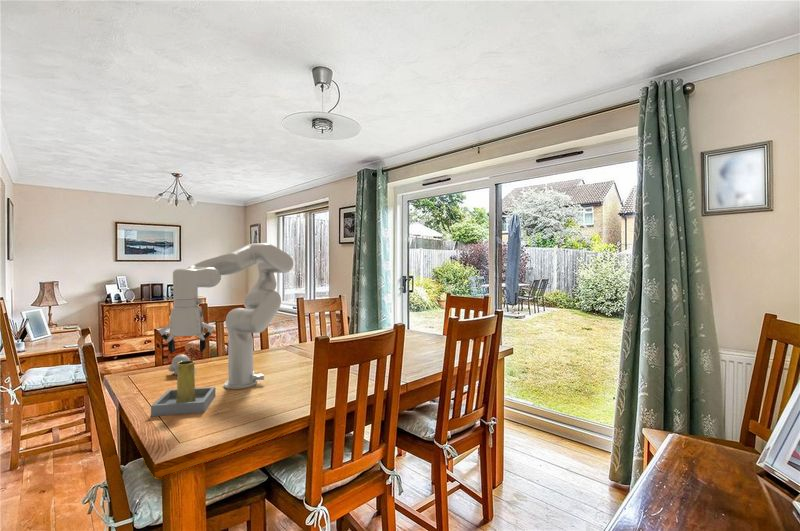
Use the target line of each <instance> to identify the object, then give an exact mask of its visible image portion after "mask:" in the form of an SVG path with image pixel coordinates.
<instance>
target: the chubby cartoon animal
mask: <svg viewBox="0 0 800 531" xmlns="http://www.w3.org/2000/svg"><path fill="white" fill-rule="evenodd" d="M182 361H191V360H190V357H189V356H188V355H186V354H178V355H176V356H174V357H173V358H172V360H171V365H169V367H168V371H169V372H173V375H175V376H177V364H178V362H182ZM195 364H196V361H194V375H195V373H196V371H197V369H196V368H195Z"/></svg>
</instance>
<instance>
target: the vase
mask: <svg viewBox="0 0 800 531" xmlns="http://www.w3.org/2000/svg"><path fill="white" fill-rule="evenodd" d="M194 362H195V361H194V360H190V361H182V362H178V364H177V375H176V380H177V382H176V385H177V386H176V389H177V400H176V403H182V402H195V401H196V399H195V388H196V386H195V385H196V382H195V380H196V379H195V374H194V368H195V367H194V366H195V364H194Z"/></svg>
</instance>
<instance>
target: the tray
mask: <svg viewBox="0 0 800 531" xmlns="http://www.w3.org/2000/svg"><path fill="white" fill-rule="evenodd" d="M215 397H216V386H210V387H209V386H208V387H205V386H204V387H195V399H196V401H195V402H182V403H176V400H177V388H176V389H175V388H174V389H168V390H167V391H166V392H164V393H163V394H162V395H161V396H160V397H159V398H157V400H156V401H155V402H153V403H152V404H151V406H150V417H163V416H172V415H173V416H174V415H175V416H176V415H189V414H201V413H202V414H204V413H205V412H206V410H207V409H208V407H209V406H210V405H211V403H212V402H213V400H214V399H215Z"/></svg>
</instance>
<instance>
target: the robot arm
mask: <svg viewBox="0 0 800 531" xmlns="http://www.w3.org/2000/svg"><path fill="white" fill-rule="evenodd" d="M253 265H257V270H258V279H257V280H256V282H255V284H254V285H253V286H252V287H251V289H250V290H249V291H248V293H247V294H246V295H245V297H244V299H243V306H244V307H245V308H243V307H237V308H233V309H231V310H230V311H229V312H228V313H227V315H226V316H225V317H226V318H225V326H226V332H227V338H228V340H227V342H228V343H227V344H228V345H227V346H228V348H227V349H228V352H227V353H228V354H227V355H228V359H227V360H228V365H227V366H228V371H227V374H228V375H227V376H228V377H227V379H228V380H226V381H225V382H224V384H223V387H224V388H226V389H227V390H242V389H243V390H244V389H248V388H251V387H255V386H256V385H257V384H258V380H259V381H264V380H265V375H264V374H262V373H259V374H257V373H256V371H255V370H254V338H253V335H252V334H259V333H260V334H261V333H263V332H265V330H266V329H267V327H268V326H269V325H270V323H271V322H272V321H273V319H274V318H275V316H276V314H277V313H278V312H279V310H280V307H281V305H282V304H281V303H282V298H281V297H282V296H281V294H280V293H279V292H278V291H276V289H277V280H276V275H275V273H276V274H278V273H279V274H281V273H282V274H286V273H289V272H290V271H291V270H292V269H293V268H294V259H293V258H292V256H291V255H290V254H289V253H287V252H286V251H284V250H282V249H280V248H279V247H277V246H275V245H273V244H271V243H267V242H264V243H260V242H259V243H256V242H255V243H249V244H246V245H245V246H242V247H239V248H237V249H235V250H233V251H231V252H228V253H226V254H222V255H218V256H215V257H212V258H209V259H205V260H202V261H200V262H197V263H195V264H192V265H190V266H188V267H186V268H176V269H174V270H173V271H172V292H173V293H172V294H173V295H172V296H173V307H172V308H171V311H170V316H169V318H170V319H169V324H168V325H165V326H163V327H162V328H160V329H158V331H159V334H160V335H161V337H162V339H164V340H165V341H166V343H167V350H168V351H169V354H172V353H175V351H176V346H175V345H176V342H175V340H174V338H176V337H192V336H193V337H194V336H197V337H198V338H199V339H200V340H199V352H200V353H201V352H203V351H205V349H206V347H207V345H206V344H207V340H206V339H208V337H209V336H210V335H212V333H213V330H214V326H213V325H211V324H208V323H206V322H204V316H203V311H202V306H199V305H200V304H203V299H200V298H199V295H198V294H199V292H198V291H199V290H198V288H213V287H216V286H218V285H219V284H220V282H221V280H222V276H226V275H227V276H229V275H234V274H238V273H240V272H242V271H244V270H246V269H247V268H249V267H251V266H253ZM205 329H207V332H206V333H204V330H205ZM167 330H169V334H168V333H167V332H166V331H167Z"/></svg>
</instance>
